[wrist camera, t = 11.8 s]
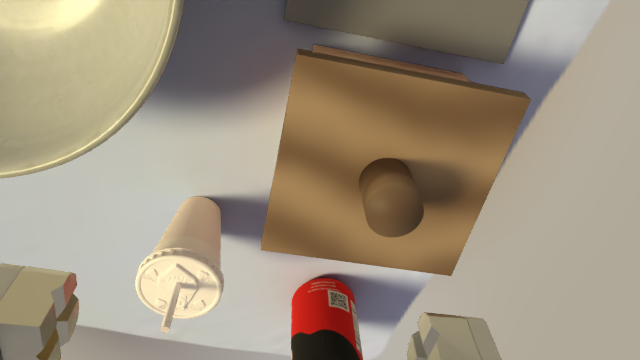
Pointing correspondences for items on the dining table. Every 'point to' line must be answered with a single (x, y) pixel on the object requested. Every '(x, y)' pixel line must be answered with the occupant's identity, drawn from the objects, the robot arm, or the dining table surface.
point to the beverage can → (324, 322)
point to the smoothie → (185, 264)
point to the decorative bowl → (76, 74)
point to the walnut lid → (385, 163)
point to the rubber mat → (421, 22)
